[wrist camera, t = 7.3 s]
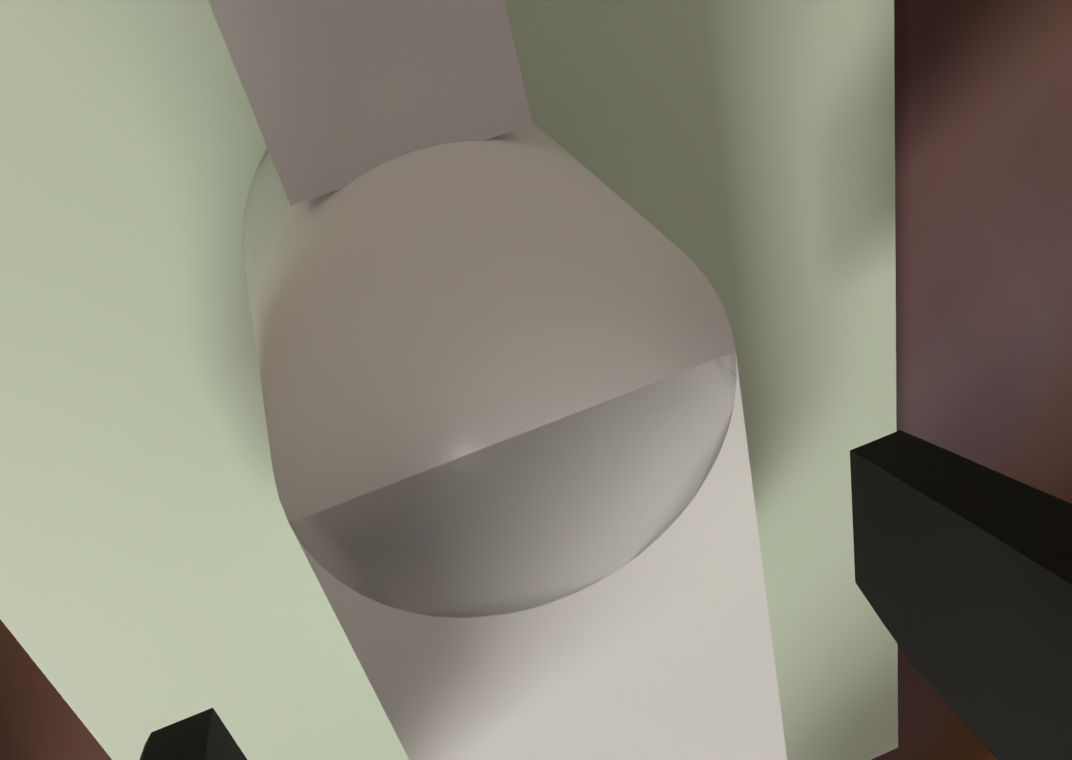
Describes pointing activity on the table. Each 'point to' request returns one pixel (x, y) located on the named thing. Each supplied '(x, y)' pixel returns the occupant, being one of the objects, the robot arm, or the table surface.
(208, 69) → the sage board
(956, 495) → the robot arm
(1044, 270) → the table surface
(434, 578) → the grey connector
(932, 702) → the table surface
